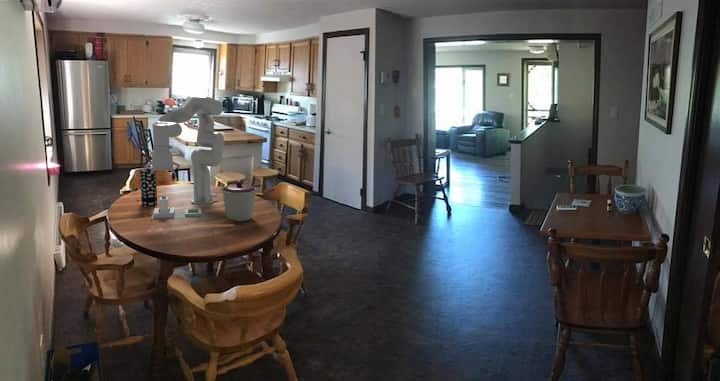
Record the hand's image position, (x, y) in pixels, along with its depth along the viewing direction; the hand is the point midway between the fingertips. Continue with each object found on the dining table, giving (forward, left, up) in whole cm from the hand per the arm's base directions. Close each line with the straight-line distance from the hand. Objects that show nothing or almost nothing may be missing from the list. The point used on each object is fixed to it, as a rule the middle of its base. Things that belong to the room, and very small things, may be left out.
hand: (163, 180), depth 276 cm
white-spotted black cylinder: (-9, -29, -20) cm, 36 cm away
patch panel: (-6, +4, -20) cm, 21 cm away
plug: (0, 0, -18) cm, 18 cm away
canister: (-26, +29, -20) cm, 44 cm away
